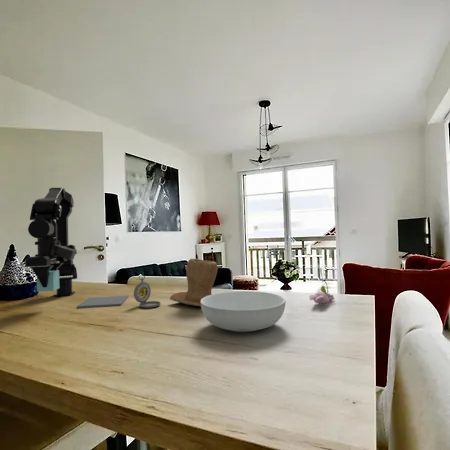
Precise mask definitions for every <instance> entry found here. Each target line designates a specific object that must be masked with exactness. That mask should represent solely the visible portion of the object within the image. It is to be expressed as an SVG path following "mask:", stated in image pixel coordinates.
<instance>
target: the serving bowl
mask: <svg viewBox="0 0 450 450" xmlns="http://www.w3.org/2000/svg"><path fill="white" fill-rule="evenodd" d="M200 303H201V306H200V308H201V311H202V312H201V313H202V314H203V317H204V318H205V319H206V320H207V321H208V322H209V323H210V324H211V325H213V326H214V327H217V328H219V329H222V330H226V331H232V332H234V333H235V332H236V333H251V332H255V331H259V330H264V329H266V328H269V327H271V326H274V325H276V323H278V322H279V320H280V319H281V318H282V316H283V315H284V312H285V309H286V303H287V301H286V298H284V297H283V296H282V295H279V294H276V293H272V292H266V291H265V292H264V291H253V290H252V291H251V290H250V291H249V290H247V291H245V290H241V291H226V292H225V291H224V292H218V293H213V294H211V295H209V296H206V297H204V298H202V299H201V301H200Z"/></svg>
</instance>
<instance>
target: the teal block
mask: <svg viewBox="0 0 450 450" xmlns="http://www.w3.org/2000/svg"><path fill="white" fill-rule="evenodd" d="M57 289H59V270H53V271H49V276H48V284H47V287H43V286H42V285H41V283H40V281H39V279H38V278H37V277H36V292H53V291H56V290H57Z"/></svg>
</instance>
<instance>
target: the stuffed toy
mask: <svg viewBox="0 0 450 450" xmlns="http://www.w3.org/2000/svg"><path fill="white" fill-rule="evenodd" d="M335 299H336V298H335V297H334V294H330V293H329V292H327V289H326V288H325V285H322V286H321V287H320V291H318V292H316V293H314V294H312V295H309V301H313V302H314V303H316V304H318V305H320V306H322V305H323V306H324V305H326V304H328V303H329V302H330V303H331V302H333V301H334V300H335Z"/></svg>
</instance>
